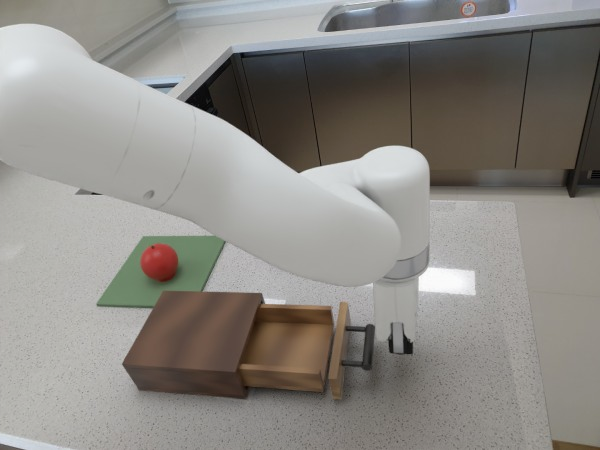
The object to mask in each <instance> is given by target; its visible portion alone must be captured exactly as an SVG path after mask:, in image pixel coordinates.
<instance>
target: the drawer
mask: <svg viewBox="0 0 600 450" xmlns="http://www.w3.org/2000/svg"><path fill="white" fill-rule="evenodd" d="M338 307H339V309H338V313H337V319H336V324H335V319H334V314H333V310H332V309H333V308H332V306H331V305H312V304H285V303H284V304H283V303H282V304H281V303H265V304H260V307H259V310H258V313H257V316H256V319H255V322H254V325H253V328H252V331H251V334H250V337H249V340H248V343H247V346H246V349H245V352H244V355H243V358H242V361H241V364H240V367H239V370H238V371H239V374H240V376H241V379H242V381H243V384H244V386H250V387H253V388H255V387H256V388H264V389H265V388H266V389H276V390H277V389H278V390H293V391H304V392H317V393H318V392H319V393H324V391H325V385H326V380H328V385H329V389H330V393H331V398H332V400H342V395H343V388H344V387H343V386H344V378H345V371H346V367H351V368H352V367H353V368H362V370H363V371H366V372H367V371H371V370H373V365H374V350H375V339H376V332H375V324H373V323H367V324H366V325H365V326H360V325H354V326H353V325H352V321H351V314H350V308H349V307H350V306H349V301H340V302H339V306H338ZM335 325H336V327H335ZM334 330H335V332H334ZM350 332H351V333H352V332H353V333H355V332H357V333H364V339H363V340H364V341H363V351H362V360H348V359H347V357H348V356H347V355H348V348H349V340H350ZM333 335H334V339H333ZM332 341H333V344H332ZM331 348H332V351H331ZM330 353H331V357H330ZM329 361H330V363H329ZM329 364H330V365H329ZM328 366H329V370H328ZM327 372H328V376H327ZM326 378H327V379H326Z"/></svg>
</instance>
